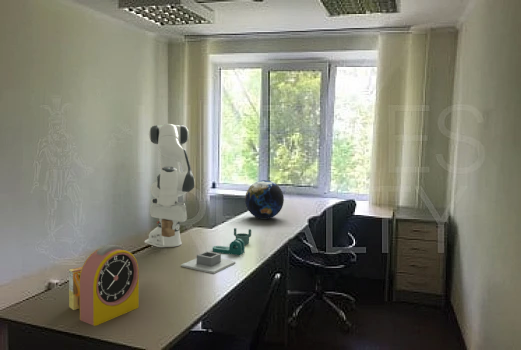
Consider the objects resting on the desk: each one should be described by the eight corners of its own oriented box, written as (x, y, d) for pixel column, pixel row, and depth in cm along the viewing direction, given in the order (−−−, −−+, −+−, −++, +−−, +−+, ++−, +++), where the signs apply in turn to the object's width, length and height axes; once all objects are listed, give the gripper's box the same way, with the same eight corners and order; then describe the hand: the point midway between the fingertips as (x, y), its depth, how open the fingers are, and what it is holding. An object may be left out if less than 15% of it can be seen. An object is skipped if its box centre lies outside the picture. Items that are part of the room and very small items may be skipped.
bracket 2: (252, 244, 282) (252, 229, 282) (238, 245, 278) (239, 230, 277) (244, 240, 290) (245, 226, 289) (231, 242, 285) (232, 227, 285)
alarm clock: (95, 326, 164) (94, 253, 161) (78, 319, 169) (78, 249, 166) (139, 307, 182) (139, 241, 179) (123, 301, 187) (123, 238, 184)
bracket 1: (244, 252, 264) (244, 239, 263) (240, 255, 257) (240, 241, 256) (215, 249, 269) (215, 235, 268) (210, 252, 262) (210, 238, 262)
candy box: (90, 301, 186) (90, 264, 184) (95, 304, 183) (95, 267, 181) (68, 307, 179) (68, 269, 178) (73, 310, 176) (73, 271, 175)
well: (181, 266, 234) (181, 255, 233) (203, 257, 252) (204, 247, 251) (214, 273, 225) (214, 262, 224) (235, 263, 242) (235, 253, 242)
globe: (259, 213, 379) (260, 176, 375) (290, 218, 361) (291, 180, 358) (236, 218, 355) (237, 179, 351) (268, 224, 337) (270, 184, 334)
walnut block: (161, 235, 225) (161, 219, 224) (167, 234, 229) (167, 218, 228) (168, 237, 223) (169, 221, 222) (174, 235, 227) (174, 219, 226)
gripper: (189, 202, 222) (189, 230, 224) (156, 197, 232) (156, 224, 233) (181, 203, 216) (181, 232, 218) (148, 199, 226) (148, 226, 228)
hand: (168, 228), depth 226 cm, fingers closed on walnut block, 4 cm apart
